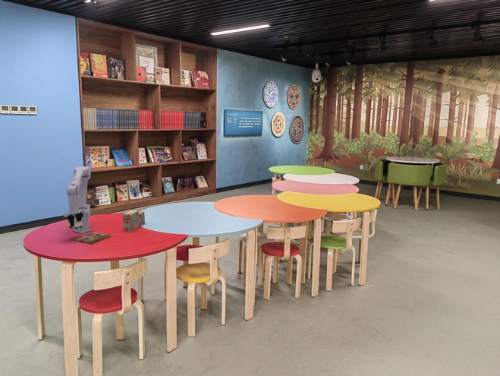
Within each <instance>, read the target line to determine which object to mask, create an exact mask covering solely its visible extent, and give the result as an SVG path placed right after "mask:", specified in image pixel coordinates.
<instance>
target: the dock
mask: <svg viewBox="0 0 500 376" xmlns="http://www.w3.org/2000/svg"><path fill="white" fill-rule="evenodd" d="M109 238H111V234H108V233H102V232H90V233H89V234H86V235H83V236H80V237H78V238H75V239H74V242H78V243H83V244H89V245H94V244H96V243H99V242H101V241H104V240H107V239H109Z"/></svg>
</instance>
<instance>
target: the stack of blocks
mask: <svg viewBox="0 0 500 376" xmlns="http://www.w3.org/2000/svg"><path fill="white" fill-rule="evenodd" d="M145 216H146V215H145V211H144V210H143V211H142V210H137V209H130V210H128V211H126V212H125V213H123V214H122V226H123V228H122V229H123V232H129V233H131V232H134V231H136V230H137V229H138V228H140V227H142V226H143V225H144V223H145V224H146V220H145V219H146V217H145ZM142 224H143V225H142ZM141 225H142V226H141ZM135 229H136V230H135Z"/></svg>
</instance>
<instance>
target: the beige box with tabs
mask: <svg viewBox="0 0 500 376" xmlns="http://www.w3.org/2000/svg"><path fill="white" fill-rule="evenodd" d="M66 223H67V224H68V229H74V228H75V229H78V227H79V228H82V222H80V221H74V227H71V226H70V223H69V221H67V222H66Z"/></svg>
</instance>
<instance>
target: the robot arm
mask: <svg viewBox="0 0 500 376" xmlns="http://www.w3.org/2000/svg"><path fill="white" fill-rule="evenodd" d="M73 174H74V177H73V178H72V179H71V181H70V184H69V185H68V186H67V187H66V195H67V199H68V209H69V211H67V212H65V213H63V217H64V218H66V219H67V222H69V223H70V226H71V227H73V231H72V232H76V233H80V234H85V233H88V232H91V231H93V229H92V228H90V224H89V223H90V221H89V218H90V217H91V216H92V215H91V214H92V211H91V206H90V205H88V204H87V197H88V195H87V194H88V181H89V180H91V176H92V175H91V174H92V170H91V167H90V165H88V166H77V165H76V166H74V167H73ZM74 221H80V222H82V228H79V227H78V229H75V228H74Z"/></svg>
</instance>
